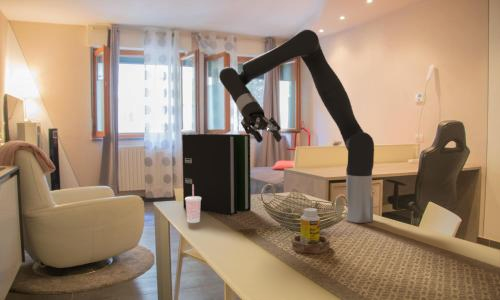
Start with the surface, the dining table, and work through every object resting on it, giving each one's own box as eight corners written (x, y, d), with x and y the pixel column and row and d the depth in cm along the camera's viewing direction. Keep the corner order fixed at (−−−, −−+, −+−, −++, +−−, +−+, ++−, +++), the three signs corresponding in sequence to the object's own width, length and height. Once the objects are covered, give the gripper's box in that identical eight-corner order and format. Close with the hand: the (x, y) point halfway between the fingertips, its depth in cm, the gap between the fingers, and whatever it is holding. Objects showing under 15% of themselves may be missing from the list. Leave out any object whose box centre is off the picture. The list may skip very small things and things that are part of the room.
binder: (251, 210, 165) (251, 134, 163) (228, 216, 153) (227, 135, 151) (206, 202, 182) (205, 133, 180) (182, 207, 170) (180, 134, 168)
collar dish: (325, 242, 119) (325, 233, 119) (331, 254, 108) (331, 244, 108) (290, 242, 119) (290, 233, 119) (293, 254, 109) (293, 244, 109)
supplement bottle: (309, 248, 110) (309, 212, 110) (296, 242, 115) (296, 208, 114) (323, 244, 113) (324, 210, 112) (310, 239, 118) (311, 206, 117)
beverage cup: (197, 218, 150) (196, 182, 150) (204, 221, 145) (204, 184, 144) (182, 220, 147) (182, 184, 146) (189, 224, 142) (188, 186, 141)
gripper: (238, 100, 136) (259, 133, 127) (269, 101, 144) (290, 132, 136) (229, 115, 140) (249, 149, 132) (260, 116, 149) (280, 147, 141)
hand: (270, 140), depth 134 cm, fingers open, 8 cm apart
